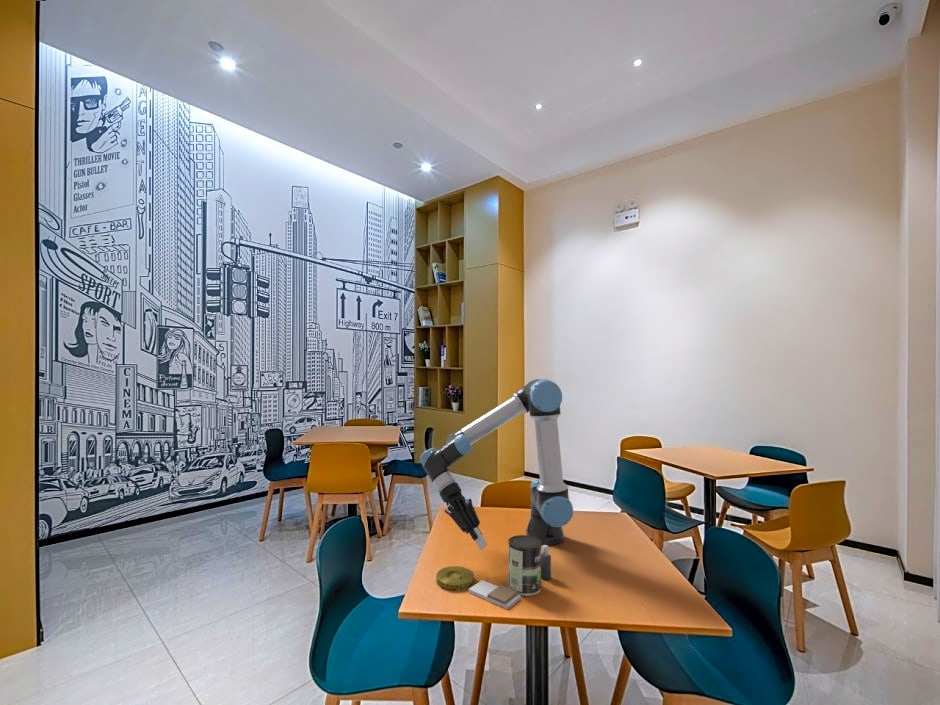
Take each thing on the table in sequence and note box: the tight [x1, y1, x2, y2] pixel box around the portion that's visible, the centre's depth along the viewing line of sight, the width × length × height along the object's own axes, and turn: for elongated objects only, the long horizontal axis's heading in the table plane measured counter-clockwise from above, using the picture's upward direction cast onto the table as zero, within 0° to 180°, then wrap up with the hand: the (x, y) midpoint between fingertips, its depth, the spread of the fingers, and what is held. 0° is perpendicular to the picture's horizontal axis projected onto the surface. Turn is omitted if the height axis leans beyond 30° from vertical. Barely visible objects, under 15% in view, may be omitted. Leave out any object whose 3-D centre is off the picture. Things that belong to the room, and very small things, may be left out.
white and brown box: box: [468, 580, 522, 610], centre depth 122 cm, size 7×14×2 cm, turn 52°
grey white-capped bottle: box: [541, 544, 552, 581], centre depth 134 cm, size 3×3×10 cm
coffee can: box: [507, 534, 542, 597], centre depth 128 cm, size 10×10×14 cm
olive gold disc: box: [435, 565, 475, 592], centre depth 131 cm, size 12×12×2 cm
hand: (483, 547), depth 138 cm, fingers closed
